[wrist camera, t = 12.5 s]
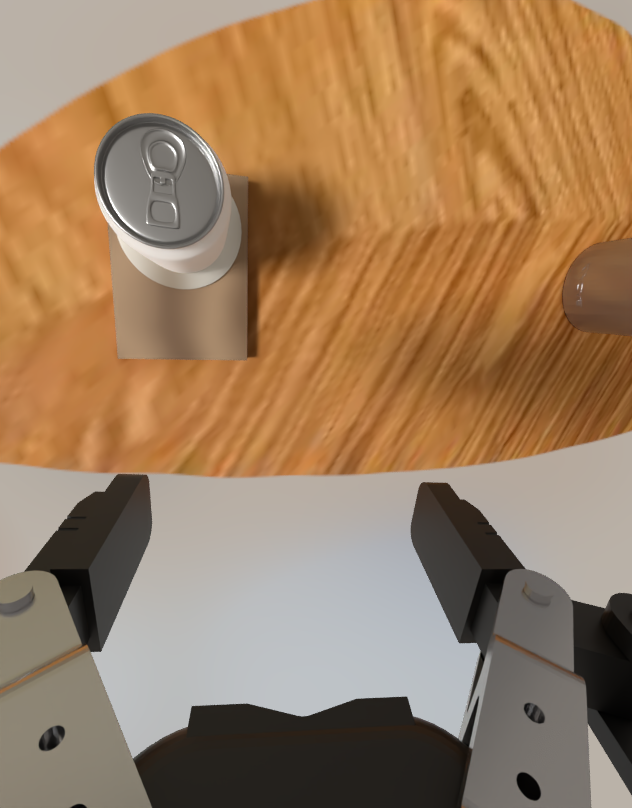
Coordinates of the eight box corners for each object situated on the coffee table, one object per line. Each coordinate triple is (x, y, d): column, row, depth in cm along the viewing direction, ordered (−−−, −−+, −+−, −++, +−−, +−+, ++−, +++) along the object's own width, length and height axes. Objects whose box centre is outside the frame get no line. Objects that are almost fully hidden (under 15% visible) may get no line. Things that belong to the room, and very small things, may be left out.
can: (228, 188, 29) (236, 118, 18) (224, 278, 31) (230, 266, 20) (134, 172, 28) (79, 84, 16) (135, 268, 29) (85, 249, 18)
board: (246, 175, 31) (248, 168, 29) (245, 357, 35) (247, 360, 33) (107, 157, 28) (100, 148, 27) (122, 355, 32) (116, 359, 30)
